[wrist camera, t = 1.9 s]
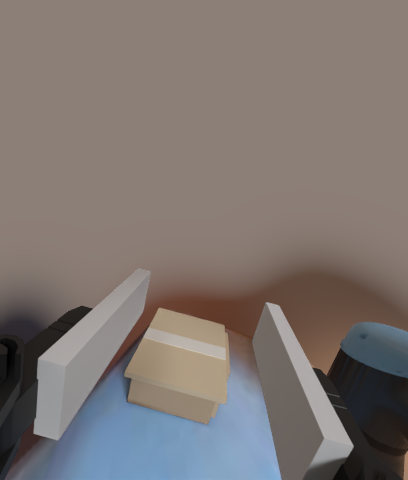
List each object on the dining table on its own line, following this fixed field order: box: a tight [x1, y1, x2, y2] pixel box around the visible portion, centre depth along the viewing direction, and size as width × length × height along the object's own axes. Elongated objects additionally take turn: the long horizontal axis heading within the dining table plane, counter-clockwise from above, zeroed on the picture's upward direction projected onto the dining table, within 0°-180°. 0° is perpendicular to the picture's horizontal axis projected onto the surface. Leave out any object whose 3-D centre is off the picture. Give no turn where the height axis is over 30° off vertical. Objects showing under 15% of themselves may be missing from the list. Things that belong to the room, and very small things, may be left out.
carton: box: [127, 332, 230, 425], centre depth 37 cm, size 15×10×11 cm
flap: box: [124, 308, 227, 404], centre depth 33 cm, size 14×15×1 cm
